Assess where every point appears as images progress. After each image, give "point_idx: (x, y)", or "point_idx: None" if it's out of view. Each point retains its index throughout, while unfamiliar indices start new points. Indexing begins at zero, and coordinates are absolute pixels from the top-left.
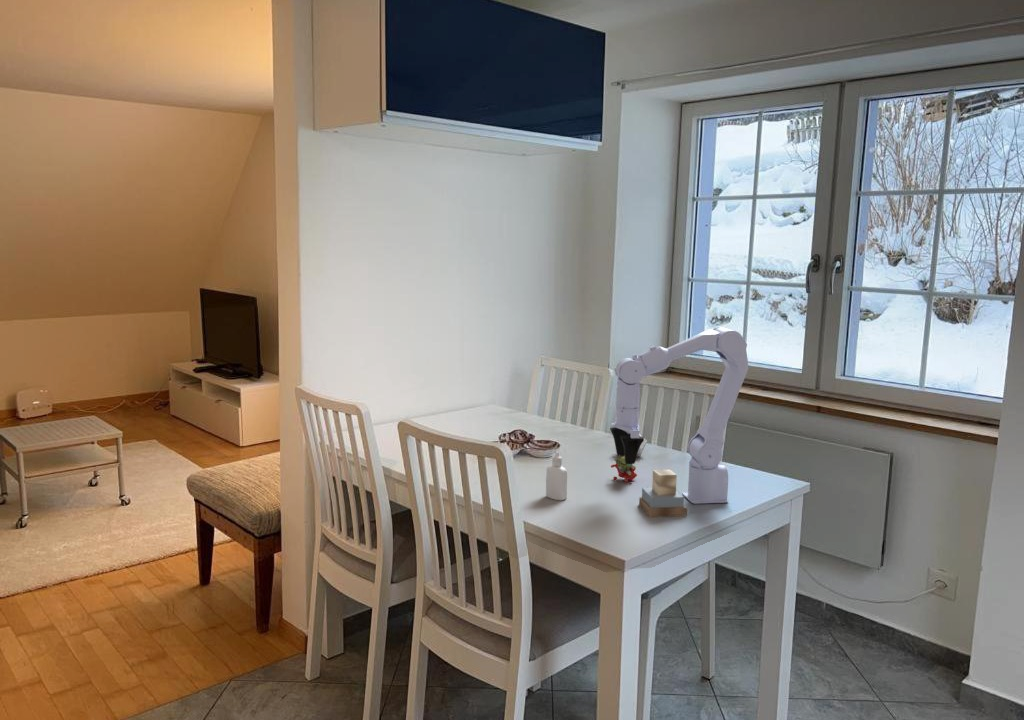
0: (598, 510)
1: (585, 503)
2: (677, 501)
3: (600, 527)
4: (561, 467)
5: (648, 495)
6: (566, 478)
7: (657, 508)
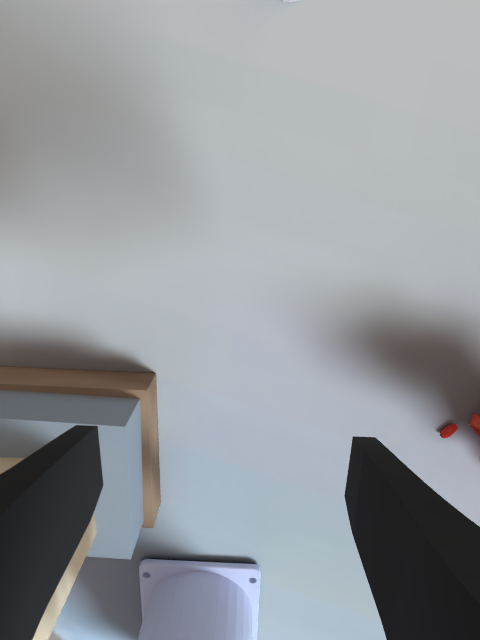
0: (80, 152)
1: (196, 110)
2: None
3: None
4: None
5: (12, 415)
6: None
7: None
